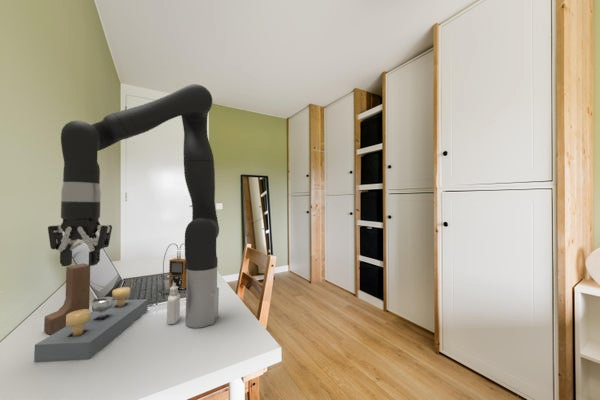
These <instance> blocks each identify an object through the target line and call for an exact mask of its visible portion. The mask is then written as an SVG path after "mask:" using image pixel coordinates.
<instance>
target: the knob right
mask: <svg viewBox="0 0 600 400" xmlns="http://www.w3.org/2000/svg"><path fill="white" fill-rule="evenodd" d="M111 293H112V296H111V297H112V298H113V300H117V307H124V306H125V300H126V299H127V298H129V297H130V296H131V288H130V287H129V286H122V287H117V288H115V289H113V290H112V292H111Z"/></svg>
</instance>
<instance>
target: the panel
mask: <svg viewBox="0 0 600 400" xmlns="http://www.w3.org/2000/svg"><path fill="white" fill-rule="evenodd" d="M148 304H149V303H148V299H147V298H146V299H125V306H124V307H117V300H114V299H113V302H112V307H111V308H109V309H107V318H106V319H105V320H98V312H94V311H92V310H91V311H90V321H89V322H87V323H85V324H84V326H83V334H82V335H81V336H75V337H73V327H67V326H66V327H64V328H63V329H61V330H59V331H58V332H56V333H54V334H52V335H49V336H48V337H46V338H44V339H42V340H40V341H38V342H37V343H36V344H34V353H33V354H34V355H33V356H34V358H33V362H34V363H39V362H41V363H42V362H58V361H59V362H60V361H61V362H62V361H80V360H90V359H91V358H92V357H94V356H95V355H96V354H97V353H99V352H100V351H101V350H102V349H104V348H105V346H107V345H108V344H109V343H110V342H112V341H114V339H116V338H117V337H118V336H119V335H120V334H121V333H123V332H124V331H125V330H126V329H128V328H129V327H130V326H131V325H133V324H134V322H136V321H137V320H138V319H139V318H141V317H142V316H144V315H145V314H146V313H147V312H148Z"/></svg>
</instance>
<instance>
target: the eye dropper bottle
mask: <svg viewBox="0 0 600 400" xmlns="http://www.w3.org/2000/svg"><path fill="white" fill-rule="evenodd" d="M178 291H179V290H178V286H176V283H173V286H172V287H171V288H170V289H169V292H170V293H169V294H168V297H167V304H166V309H167V310H166V324H167V325H175V324H177V323H178V322H179V321H180V318H181V317H180V316H181V295H180V293H179V292H178Z"/></svg>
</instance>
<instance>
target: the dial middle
mask: <svg viewBox="0 0 600 400" xmlns="http://www.w3.org/2000/svg"><path fill="white" fill-rule="evenodd" d="M113 300H114V299H113V298H112V296H103V297H99V298H94V299H93V300H92V301H91V312H92V311H94V312H98V320H105V319H106V318H107V309H109V308H111V307H112V302H113Z"/></svg>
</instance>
